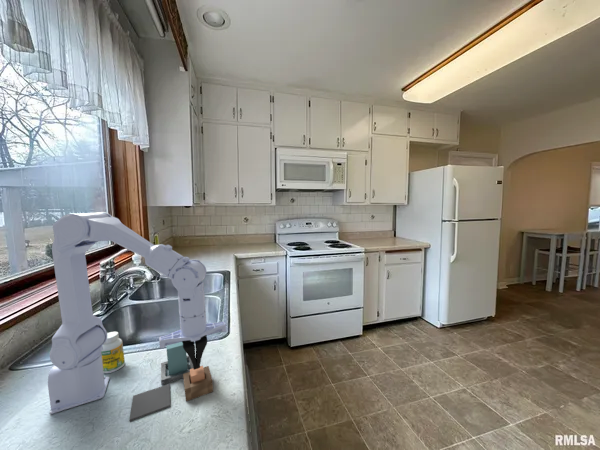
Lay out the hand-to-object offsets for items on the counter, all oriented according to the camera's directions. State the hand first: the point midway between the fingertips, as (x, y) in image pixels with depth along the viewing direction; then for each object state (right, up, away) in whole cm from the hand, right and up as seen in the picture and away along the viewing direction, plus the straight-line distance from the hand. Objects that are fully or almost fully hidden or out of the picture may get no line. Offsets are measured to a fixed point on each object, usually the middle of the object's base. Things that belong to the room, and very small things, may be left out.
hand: (196, 366), depth 61 cm
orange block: (0, -5, +1) cm, 5 cm away
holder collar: (-8, -5, +7) cm, 12 cm away
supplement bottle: (-27, -6, +10) cm, 30 cm away
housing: (0, -6, +1) cm, 6 cm away
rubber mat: (-9, -6, -3) cm, 11 cm away
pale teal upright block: (-8, -5, +7) cm, 12 cm away
